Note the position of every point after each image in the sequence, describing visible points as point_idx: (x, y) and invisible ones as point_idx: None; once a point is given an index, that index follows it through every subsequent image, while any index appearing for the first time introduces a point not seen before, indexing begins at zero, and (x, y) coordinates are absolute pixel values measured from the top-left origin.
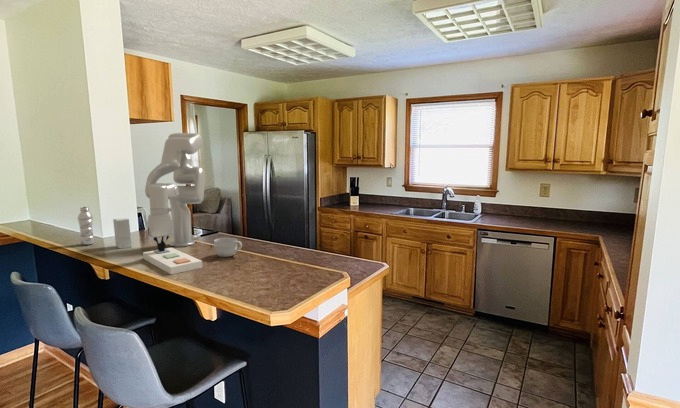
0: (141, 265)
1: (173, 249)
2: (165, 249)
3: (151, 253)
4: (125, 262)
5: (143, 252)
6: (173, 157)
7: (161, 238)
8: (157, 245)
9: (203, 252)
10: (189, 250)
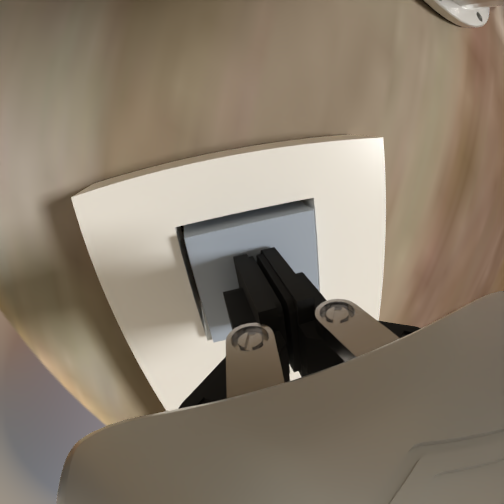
0: (97, 362)
1: (370, 232)
2: (306, 250)
3: (153, 291)
4: None
5: (76, 205)
6: None
7: (337, 339)
8: (231, 323)
9: (466, 239)
10: (448, 134)
